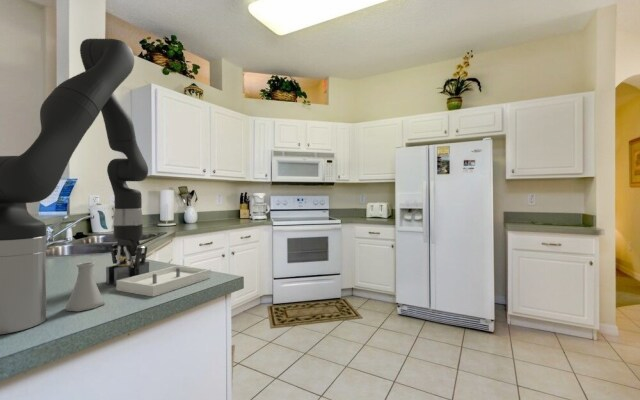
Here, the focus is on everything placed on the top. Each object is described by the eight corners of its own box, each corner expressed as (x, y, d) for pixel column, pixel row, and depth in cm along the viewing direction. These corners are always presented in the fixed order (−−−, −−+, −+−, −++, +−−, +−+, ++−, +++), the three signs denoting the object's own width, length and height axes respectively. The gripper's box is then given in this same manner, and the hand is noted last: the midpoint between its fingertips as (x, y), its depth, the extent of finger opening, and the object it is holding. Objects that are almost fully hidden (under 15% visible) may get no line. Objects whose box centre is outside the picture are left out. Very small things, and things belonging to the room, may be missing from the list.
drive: (117, 285, 86) (117, 268, 86) (106, 283, 88) (106, 266, 88) (149, 277, 96) (149, 261, 96) (138, 276, 98) (138, 260, 98)
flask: (58, 309, 68) (58, 265, 68) (94, 299, 74) (94, 259, 74) (75, 314, 64) (74, 268, 64) (111, 304, 71) (111, 262, 71)
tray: (153, 296, 76) (153, 282, 76) (116, 290, 82) (116, 276, 82) (210, 277, 95) (210, 266, 95) (177, 273, 100) (177, 262, 100)
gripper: (100, 223, 91) (100, 279, 91) (132, 225, 86) (132, 284, 86) (125, 222, 98) (125, 274, 98) (155, 223, 93) (155, 278, 93)
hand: (128, 278), depth 92 cm, fingers closed on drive, 5 cm apart
